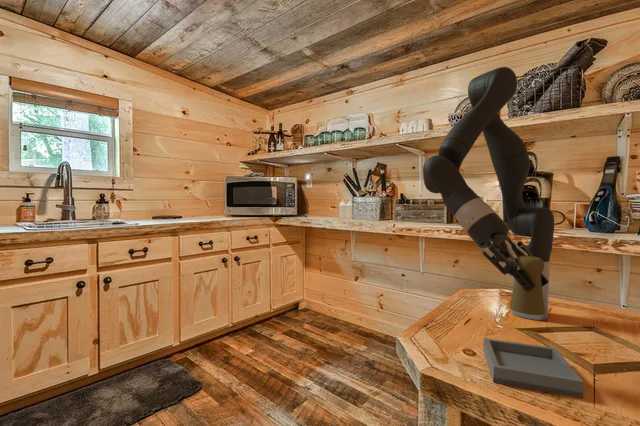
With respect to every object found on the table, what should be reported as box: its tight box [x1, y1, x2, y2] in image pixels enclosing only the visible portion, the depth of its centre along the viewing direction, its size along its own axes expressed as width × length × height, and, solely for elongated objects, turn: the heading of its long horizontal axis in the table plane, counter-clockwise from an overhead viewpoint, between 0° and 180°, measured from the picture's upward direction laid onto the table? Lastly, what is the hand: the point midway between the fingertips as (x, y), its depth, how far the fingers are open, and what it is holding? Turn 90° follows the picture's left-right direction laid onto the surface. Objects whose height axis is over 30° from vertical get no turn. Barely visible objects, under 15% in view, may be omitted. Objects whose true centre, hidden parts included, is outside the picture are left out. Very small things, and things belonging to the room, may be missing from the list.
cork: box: [509, 256, 545, 315], centre depth 64 cm, size 6×6×11 cm
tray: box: [483, 337, 585, 400], centre depth 65 cm, size 14×14×3 cm
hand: (538, 286), depth 63 cm, fingers closed on cork, 5 cm apart
